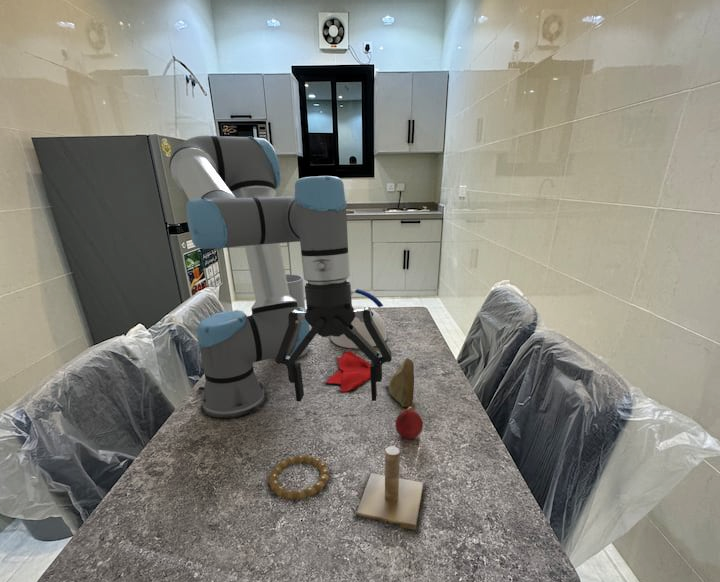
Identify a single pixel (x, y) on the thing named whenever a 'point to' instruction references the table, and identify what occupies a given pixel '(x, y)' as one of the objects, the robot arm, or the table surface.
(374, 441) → the table surface
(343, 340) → the kettle
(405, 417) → the onion
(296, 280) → the cylinder vase
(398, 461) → the stand
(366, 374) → the cloth
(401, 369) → the rock
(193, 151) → the robot arm
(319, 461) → the gold beaded ring
